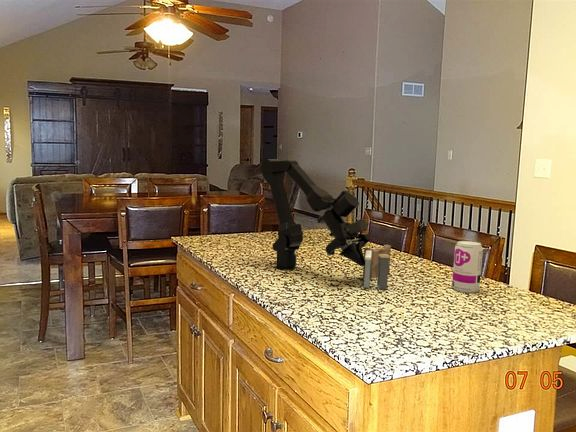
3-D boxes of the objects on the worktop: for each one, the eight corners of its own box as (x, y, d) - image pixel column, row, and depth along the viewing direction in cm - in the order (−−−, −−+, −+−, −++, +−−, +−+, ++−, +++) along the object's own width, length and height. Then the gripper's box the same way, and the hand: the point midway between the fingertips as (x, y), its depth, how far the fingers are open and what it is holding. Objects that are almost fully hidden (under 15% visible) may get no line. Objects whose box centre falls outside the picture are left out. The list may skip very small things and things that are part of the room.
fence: (368, 280, 177) (370, 250, 175) (360, 278, 178) (362, 249, 177) (391, 273, 187) (392, 245, 186) (383, 272, 189) (385, 244, 188)
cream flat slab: (364, 279, 177) (366, 250, 176) (369, 279, 177) (371, 250, 175) (363, 288, 165) (365, 257, 164) (369, 289, 165) (371, 257, 164)
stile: (376, 287, 168) (378, 253, 167) (385, 287, 168) (387, 254, 167) (378, 289, 165) (380, 255, 164) (387, 289, 166) (389, 255, 164)
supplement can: (465, 294, 164) (469, 245, 162) (446, 287, 171) (449, 241, 169) (484, 291, 168) (489, 244, 166) (465, 285, 175) (468, 240, 173)
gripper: (335, 212, 163) (363, 254, 157) (369, 208, 177) (396, 247, 171) (313, 234, 169) (340, 275, 163) (347, 228, 183) (373, 266, 177)
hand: (363, 265), depth 169 cm, fingers closed
